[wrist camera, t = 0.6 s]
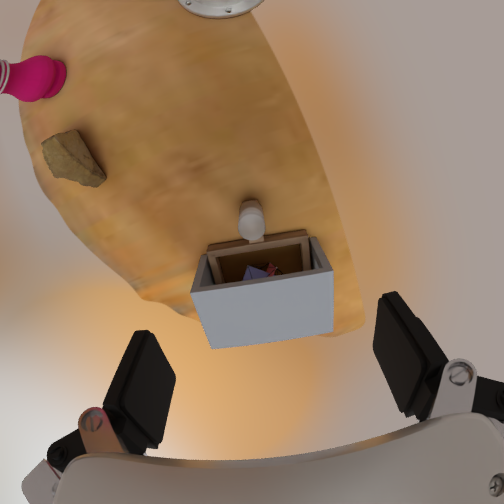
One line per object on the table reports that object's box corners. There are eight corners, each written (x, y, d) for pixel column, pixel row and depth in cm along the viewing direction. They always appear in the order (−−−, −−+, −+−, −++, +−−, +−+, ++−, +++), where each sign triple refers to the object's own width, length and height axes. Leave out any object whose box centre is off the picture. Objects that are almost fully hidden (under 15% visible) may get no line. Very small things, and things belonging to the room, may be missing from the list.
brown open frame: (198, 206, 36) (187, 226, 30) (300, 189, 35) (312, 205, 29) (226, 309, 45) (223, 340, 38) (310, 296, 44) (319, 326, 37)
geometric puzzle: (256, 244, 37) (242, 299, 33) (301, 261, 38) (291, 315, 35) (241, 262, 43) (228, 310, 40) (280, 276, 45) (270, 323, 41)
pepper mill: (67, 50, 24) (-28, 37, 6) (70, 89, 27) (-32, 95, 10) (36, 70, 24) (-56, 73, 7) (39, 107, 28) (-57, 126, 10)
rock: (118, 185, 33) (100, 116, 27) (65, 216, 27) (40, 141, 21) (91, 181, 38) (76, 125, 32) (48, 205, 33) (29, 147, 27)
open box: (201, 255, 40) (190, 293, 32) (315, 236, 39) (333, 270, 31) (217, 307, 45) (211, 349, 36) (318, 291, 44) (333, 331, 35)
